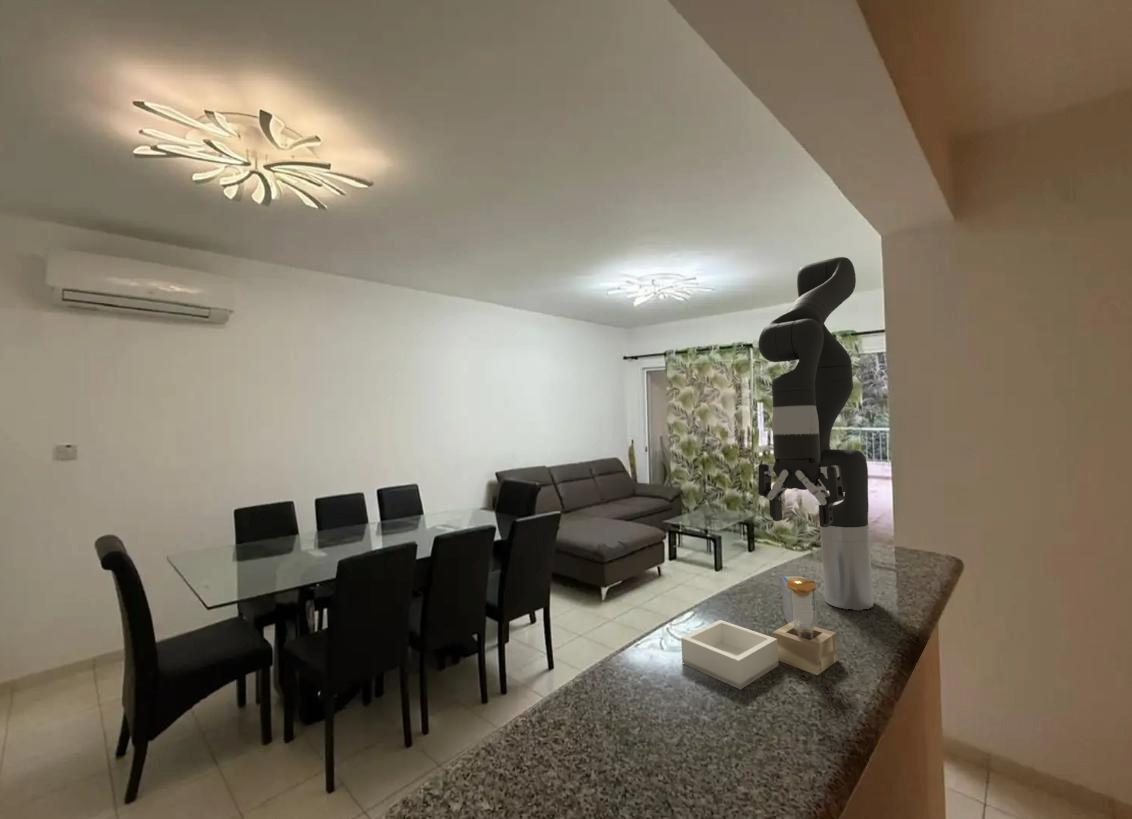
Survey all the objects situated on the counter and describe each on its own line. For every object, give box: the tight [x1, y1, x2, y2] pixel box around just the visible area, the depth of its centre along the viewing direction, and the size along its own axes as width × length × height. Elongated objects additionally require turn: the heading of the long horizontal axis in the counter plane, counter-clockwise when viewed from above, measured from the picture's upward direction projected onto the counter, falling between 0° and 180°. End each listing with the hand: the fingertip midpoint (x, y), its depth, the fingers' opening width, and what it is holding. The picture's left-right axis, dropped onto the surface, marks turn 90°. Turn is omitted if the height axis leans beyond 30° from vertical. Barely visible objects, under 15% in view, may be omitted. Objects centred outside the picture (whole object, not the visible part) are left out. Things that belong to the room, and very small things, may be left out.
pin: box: [787, 577, 817, 640], centre depth 81 cm, size 4×4×13 cm
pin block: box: [772, 621, 839, 676], centre depth 81 cm, size 7×7×4 cm
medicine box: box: [781, 575, 819, 628], centre depth 94 cm, size 8×4×9 cm, turn 168°
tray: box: [680, 619, 780, 691], centre depth 81 cm, size 11×11×4 cm
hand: (800, 523), depth 86 cm, fingers open, 8 cm apart
